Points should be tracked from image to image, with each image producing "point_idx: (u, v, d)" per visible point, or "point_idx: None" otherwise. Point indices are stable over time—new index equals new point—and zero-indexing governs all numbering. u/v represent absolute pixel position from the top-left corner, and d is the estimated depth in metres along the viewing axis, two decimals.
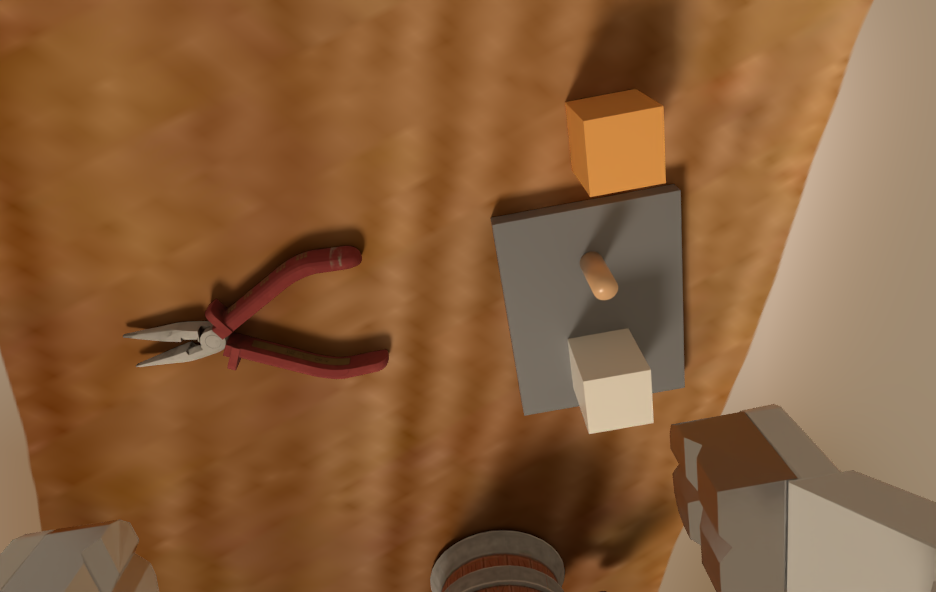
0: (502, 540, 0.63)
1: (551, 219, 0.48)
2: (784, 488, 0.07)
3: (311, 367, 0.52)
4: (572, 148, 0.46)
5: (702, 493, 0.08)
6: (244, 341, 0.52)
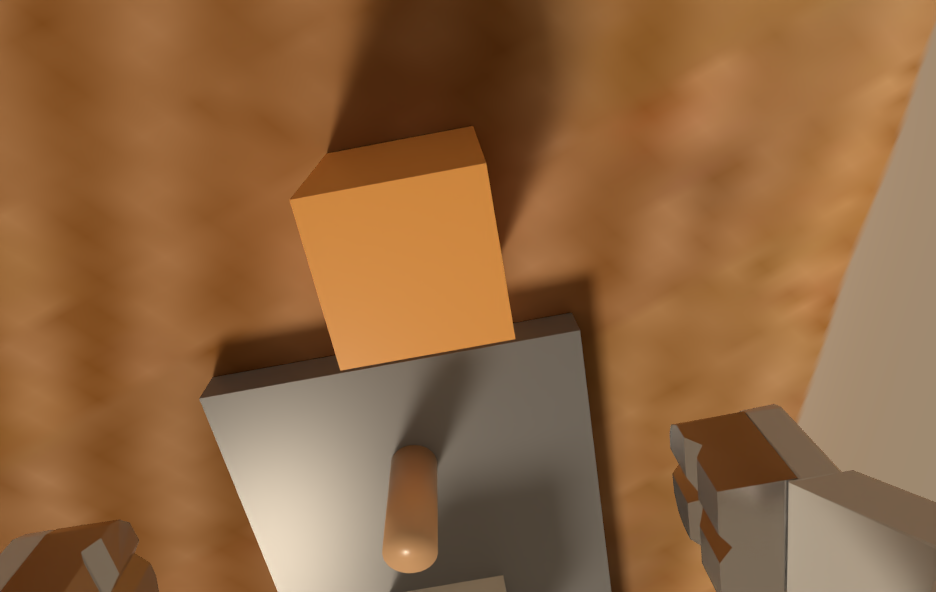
0: None
1: (319, 387, 0.23)
2: (784, 488, 0.07)
3: None
4: None
5: (702, 493, 0.08)
6: None
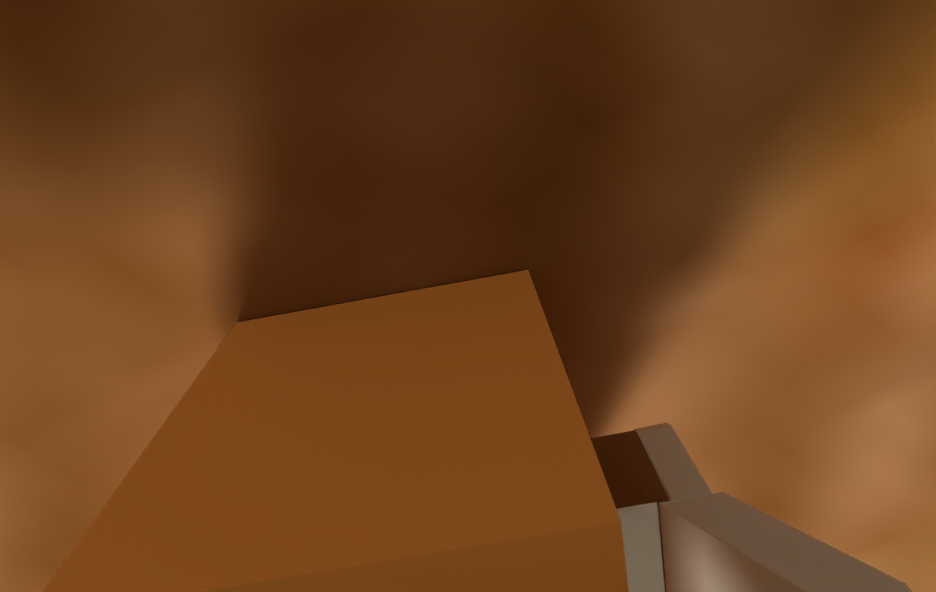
0: None
1: None
2: (655, 510, 0.08)
3: None
4: None
5: None
6: None
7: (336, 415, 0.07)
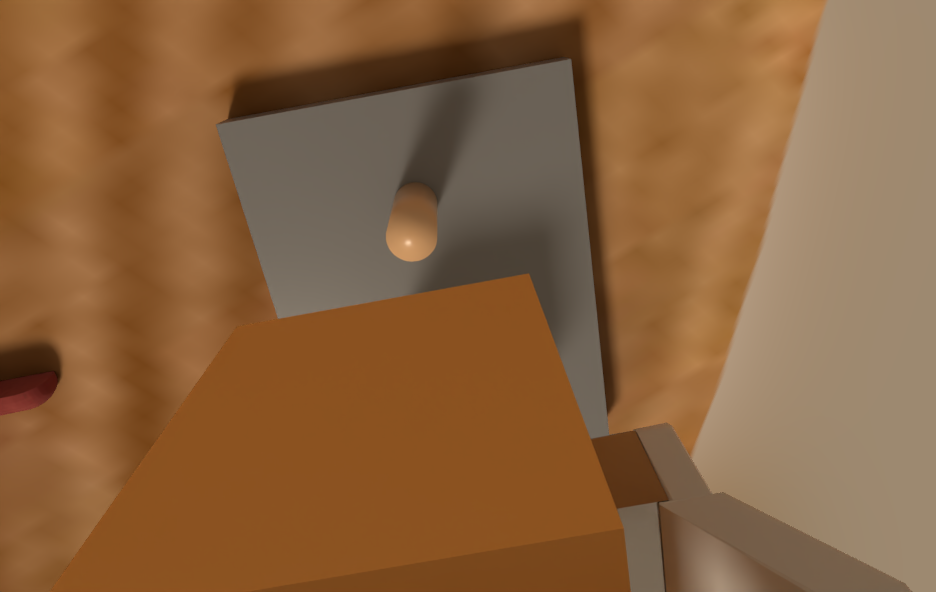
0: None
1: (328, 115, 0.25)
2: (655, 510, 0.08)
3: None
4: None
5: None
6: None
7: (338, 420, 0.07)
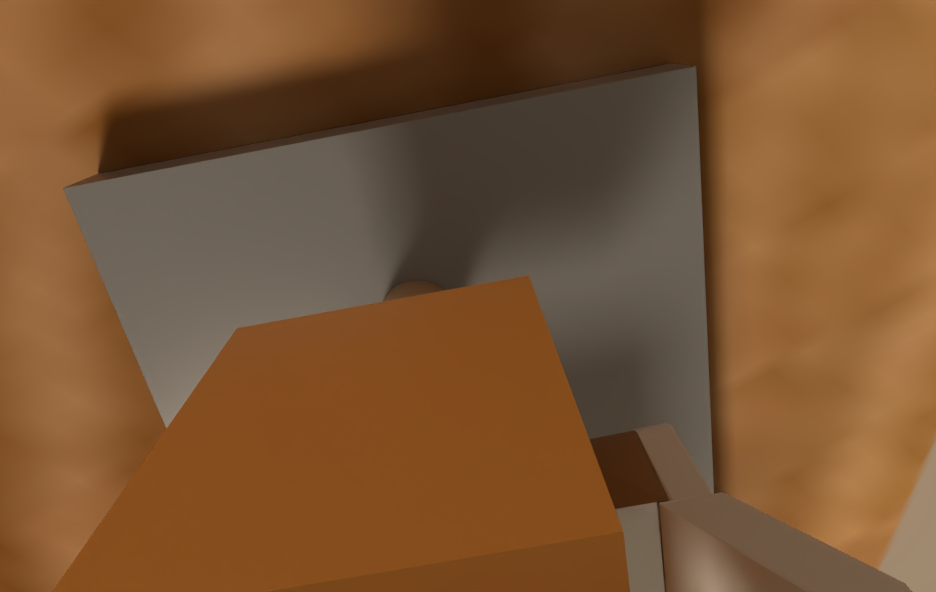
0: None
1: (261, 169, 0.14)
2: (655, 510, 0.08)
3: None
4: None
5: None
6: None
7: (338, 423, 0.07)
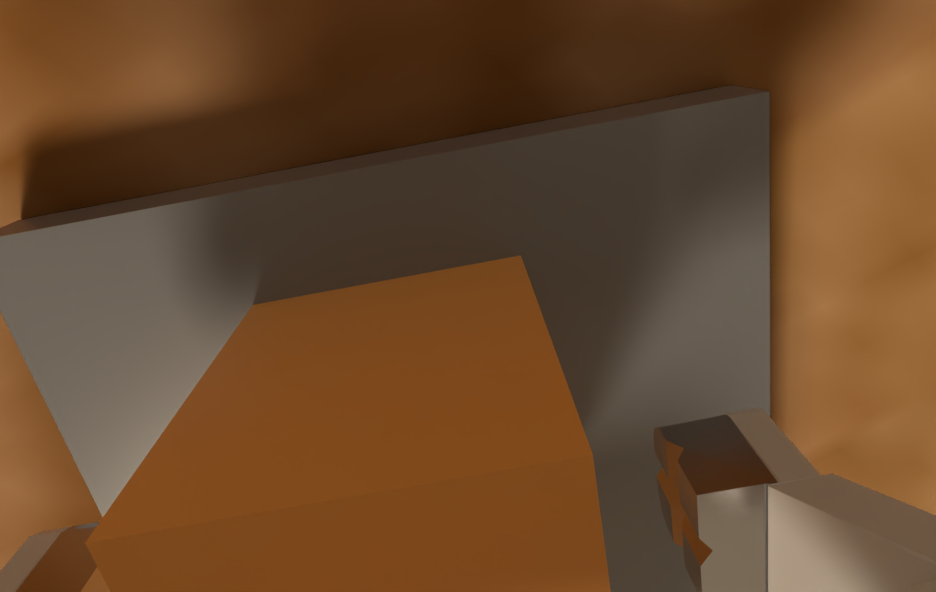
0: None
1: (217, 219, 0.11)
2: (763, 491, 0.07)
3: None
4: None
5: (683, 496, 0.08)
6: None
7: (348, 379, 0.08)
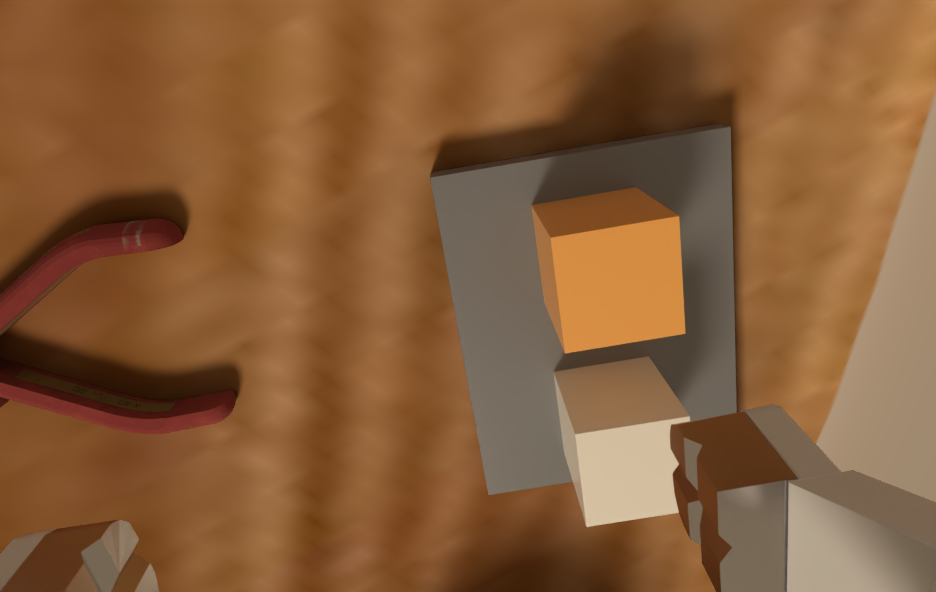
0: None
1: (524, 170, 0.30)
2: (784, 488, 0.07)
3: (106, 414, 0.33)
4: (542, 272, 0.30)
5: (702, 493, 0.08)
6: (5, 370, 0.33)
7: (595, 213, 0.27)
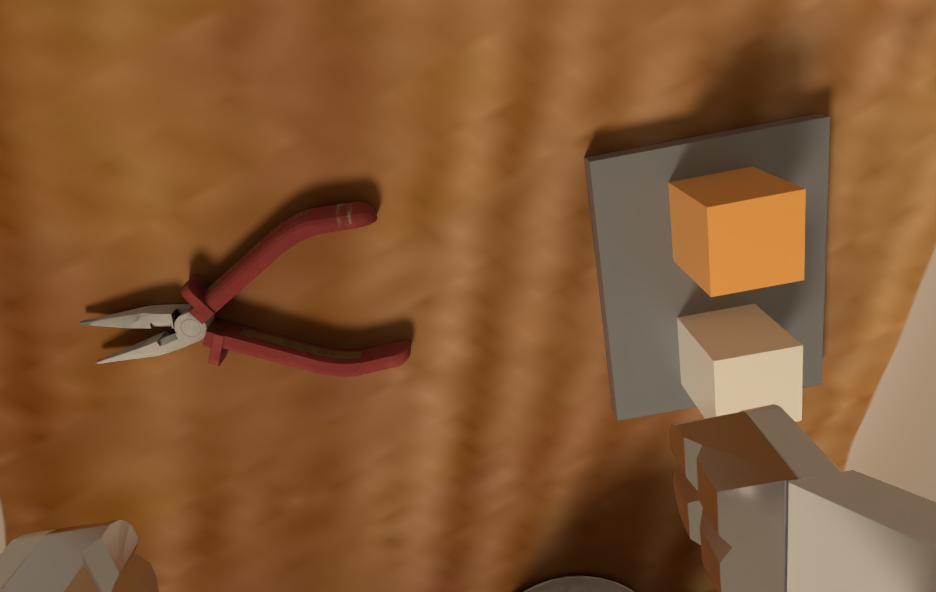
0: (581, 588, 0.50)
1: (664, 154, 0.37)
2: (784, 488, 0.07)
3: (313, 361, 0.41)
4: (677, 236, 0.38)
5: (702, 493, 0.08)
6: (230, 328, 0.41)
7: (732, 188, 0.35)
